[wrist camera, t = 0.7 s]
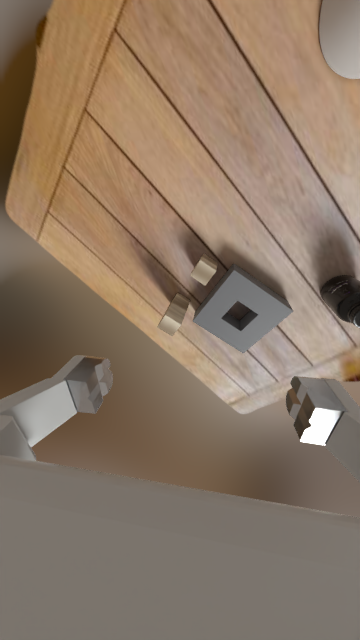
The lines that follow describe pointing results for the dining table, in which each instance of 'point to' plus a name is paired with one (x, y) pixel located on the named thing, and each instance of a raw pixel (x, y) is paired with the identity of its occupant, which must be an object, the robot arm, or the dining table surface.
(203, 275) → the short pin
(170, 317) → the tall pin
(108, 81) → the dining table surface
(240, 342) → the socket block
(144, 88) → the dining table surface
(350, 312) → the supplement bottle
